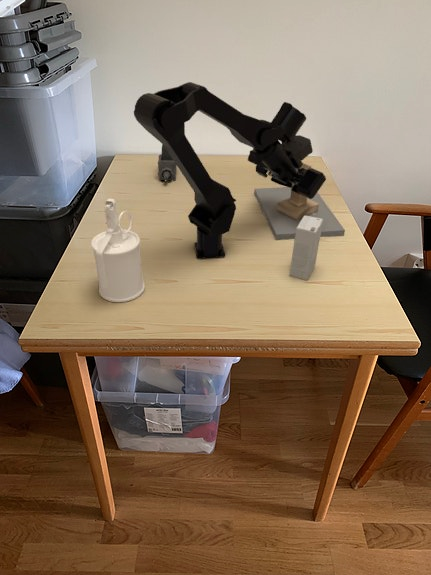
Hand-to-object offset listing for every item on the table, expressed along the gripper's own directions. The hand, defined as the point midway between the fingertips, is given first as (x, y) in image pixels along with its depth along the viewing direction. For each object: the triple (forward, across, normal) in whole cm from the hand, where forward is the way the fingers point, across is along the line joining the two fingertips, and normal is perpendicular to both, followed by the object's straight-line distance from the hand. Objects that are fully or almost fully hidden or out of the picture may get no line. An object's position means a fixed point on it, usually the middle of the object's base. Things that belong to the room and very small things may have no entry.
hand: (303, 190), depth 120 cm
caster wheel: (-5, +42, +15) cm, 44 cm away
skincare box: (-8, -19, +18) cm, 28 cm away
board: (+5, +1, +5) cm, 7 cm away
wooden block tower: (+3, 0, +5) cm, 5 cm away
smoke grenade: (-33, -1, +43) cm, 54 cm away
